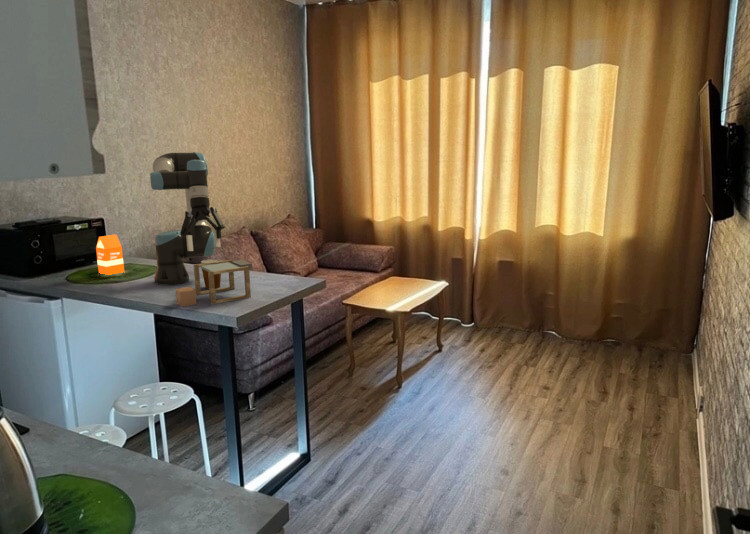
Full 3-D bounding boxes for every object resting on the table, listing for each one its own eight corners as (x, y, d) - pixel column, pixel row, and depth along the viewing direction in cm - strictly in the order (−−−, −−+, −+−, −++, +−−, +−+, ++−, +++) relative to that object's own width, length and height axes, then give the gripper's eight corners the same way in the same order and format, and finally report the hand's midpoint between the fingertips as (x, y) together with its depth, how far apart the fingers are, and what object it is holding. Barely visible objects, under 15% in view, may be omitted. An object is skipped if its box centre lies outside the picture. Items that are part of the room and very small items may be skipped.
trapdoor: (201, 269, 236) (200, 264, 235) (240, 264, 246) (240, 259, 245) (213, 276, 224) (213, 270, 224) (254, 270, 234) (254, 264, 234)
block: (176, 303, 225) (175, 289, 224) (191, 300, 229) (190, 286, 228) (181, 306, 221) (180, 292, 219) (196, 304, 224) (195, 289, 223)
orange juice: (99, 276, 272) (94, 236, 268) (116, 273, 279) (111, 233, 275) (108, 279, 268) (103, 237, 263) (125, 275, 275) (120, 235, 270)
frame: (195, 294, 238) (193, 264, 235) (233, 288, 248) (231, 259, 245) (211, 304, 223) (209, 272, 221) (250, 297, 233) (249, 266, 230)
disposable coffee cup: (222, 289, 246) (221, 262, 244) (200, 290, 245) (198, 263, 242) (225, 284, 255) (223, 258, 253) (203, 285, 254) (201, 259, 251)
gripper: (168, 201, 232) (173, 252, 231) (219, 192, 224) (224, 244, 223) (180, 203, 239) (185, 252, 238) (230, 194, 231) (235, 245, 230)
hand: (204, 249), depth 231 cm, fingers open, 13 cm apart
